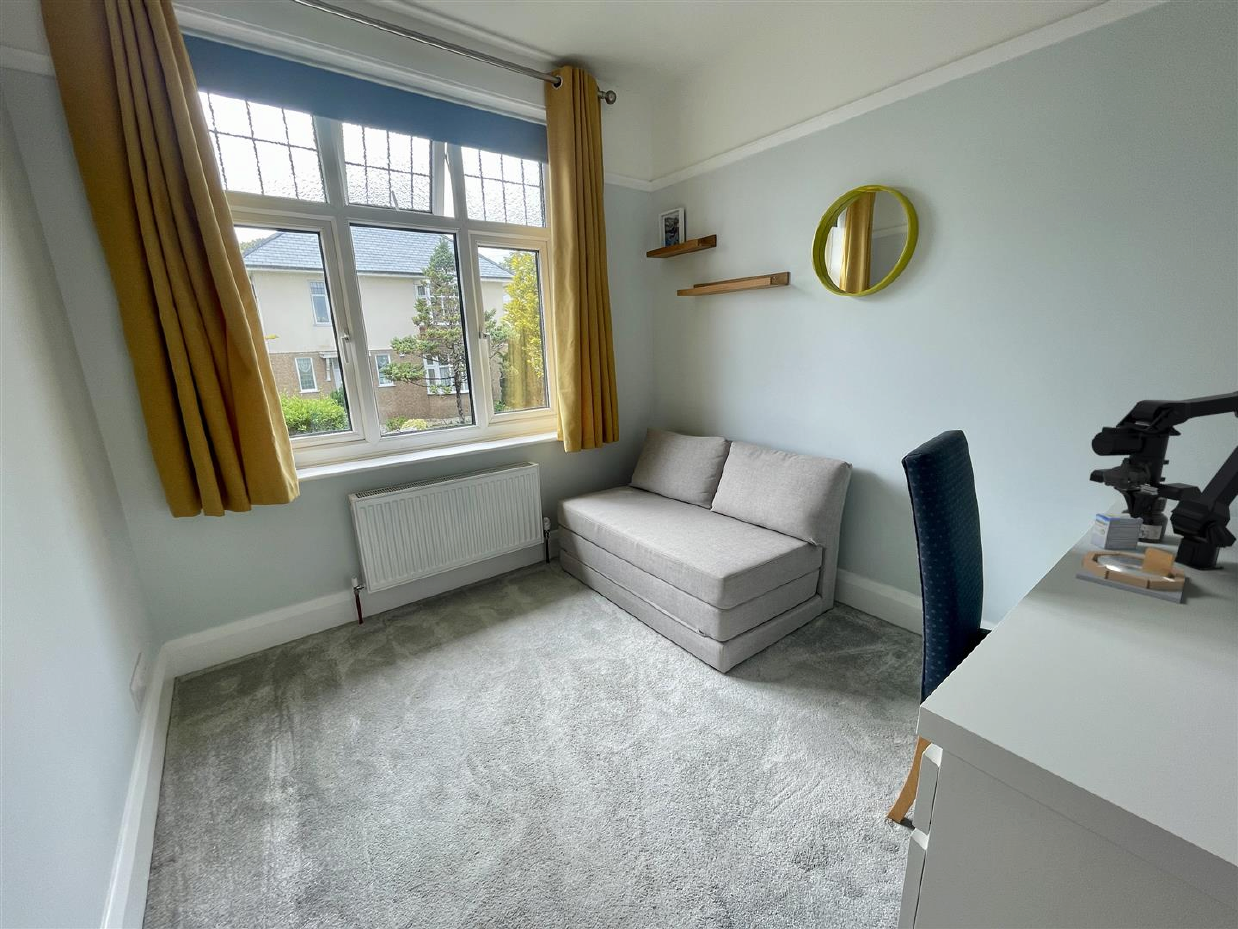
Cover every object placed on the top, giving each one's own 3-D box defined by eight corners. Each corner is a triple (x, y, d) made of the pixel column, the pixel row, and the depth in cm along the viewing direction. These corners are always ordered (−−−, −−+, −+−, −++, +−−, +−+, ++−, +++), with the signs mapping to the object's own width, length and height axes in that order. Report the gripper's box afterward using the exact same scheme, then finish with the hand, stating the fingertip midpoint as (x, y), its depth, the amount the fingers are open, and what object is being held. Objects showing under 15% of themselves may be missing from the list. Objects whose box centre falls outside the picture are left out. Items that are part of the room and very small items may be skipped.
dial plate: (1089, 556, 124) (1092, 544, 124) (1184, 576, 112) (1187, 564, 111) (1076, 577, 113) (1078, 565, 113) (1179, 603, 101) (1182, 589, 100)
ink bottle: (1108, 534, 138) (1117, 493, 135) (1123, 529, 141) (1132, 489, 138) (1156, 546, 129) (1166, 503, 126) (1171, 540, 132) (1181, 498, 130)
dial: (1085, 567, 116) (1090, 540, 114) (1112, 558, 120) (1118, 532, 118) (1153, 588, 105) (1160, 559, 103) (1180, 577, 109) (1187, 550, 108)
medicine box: (1121, 543, 131) (1128, 512, 130) (1136, 550, 127) (1144, 518, 125) (1089, 543, 132) (1095, 512, 130) (1103, 549, 128) (1110, 518, 126)
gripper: (1075, 449, 122) (1065, 509, 125) (1165, 466, 104) (1150, 534, 107) (1114, 446, 123) (1103, 505, 126) (1210, 462, 105) (1194, 530, 108)
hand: (1134, 518), depth 117 cm, fingers closed
